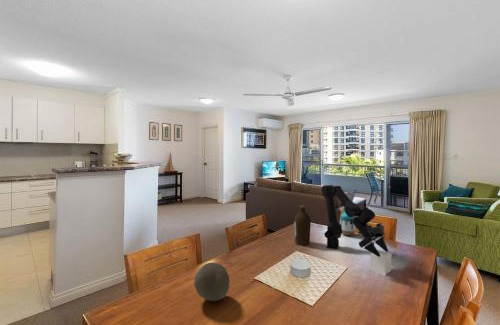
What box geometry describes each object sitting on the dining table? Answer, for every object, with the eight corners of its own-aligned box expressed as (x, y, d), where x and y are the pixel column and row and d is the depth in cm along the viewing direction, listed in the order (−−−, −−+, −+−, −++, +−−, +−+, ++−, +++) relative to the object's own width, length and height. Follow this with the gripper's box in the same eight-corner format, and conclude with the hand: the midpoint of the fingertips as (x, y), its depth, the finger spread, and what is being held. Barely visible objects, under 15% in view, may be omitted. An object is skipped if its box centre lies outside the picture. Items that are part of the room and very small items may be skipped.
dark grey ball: (213, 286, 113) (213, 254, 112) (236, 298, 104) (236, 263, 103) (188, 301, 102) (187, 265, 101) (211, 315, 93) (210, 277, 92)
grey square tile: (374, 259, 139) (374, 259, 139) (384, 253, 148) (384, 252, 148) (401, 269, 128) (401, 268, 128) (411, 261, 137) (411, 260, 137)
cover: (370, 270, 127) (370, 253, 127) (376, 266, 132) (376, 249, 131) (385, 275, 122) (385, 257, 121) (391, 271, 126) (391, 253, 126)
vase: (352, 232, 184) (353, 207, 183) (357, 237, 174) (358, 210, 173) (338, 232, 185) (338, 206, 184) (342, 237, 175) (342, 210, 174)
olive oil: (311, 241, 168) (311, 204, 166) (309, 247, 158) (309, 208, 156) (295, 239, 171) (295, 203, 170) (292, 244, 161) (293, 206, 160)
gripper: (365, 222, 122) (388, 251, 114) (381, 215, 134) (403, 241, 126) (349, 233, 129) (370, 262, 121) (366, 226, 141) (387, 251, 133)
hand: (383, 253), depth 125 cm, fingers open, 9 cm apart
